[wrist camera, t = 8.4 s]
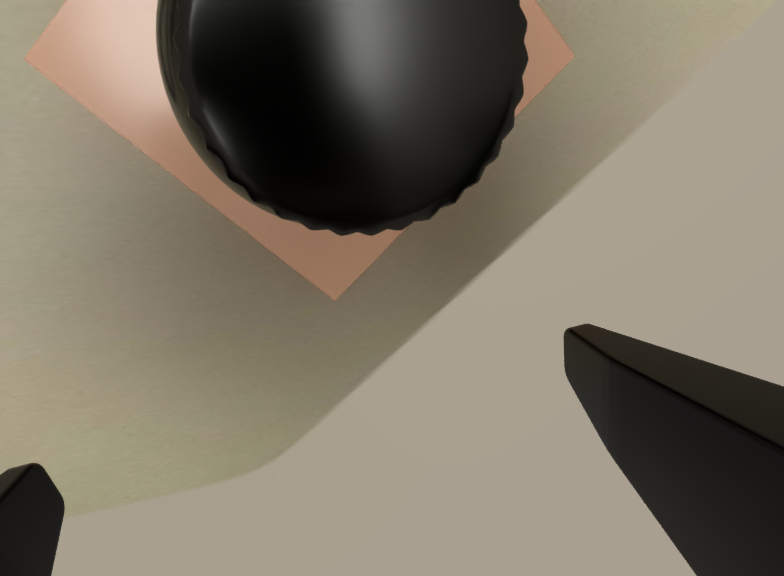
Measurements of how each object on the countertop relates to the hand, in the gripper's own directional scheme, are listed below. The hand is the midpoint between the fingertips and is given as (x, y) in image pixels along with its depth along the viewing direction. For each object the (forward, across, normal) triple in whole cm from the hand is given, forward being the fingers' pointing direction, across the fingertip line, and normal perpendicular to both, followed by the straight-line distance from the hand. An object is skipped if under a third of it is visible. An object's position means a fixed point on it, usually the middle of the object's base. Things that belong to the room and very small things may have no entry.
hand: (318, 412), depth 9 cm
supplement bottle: (+12, -2, -5) cm, 14 cm away
